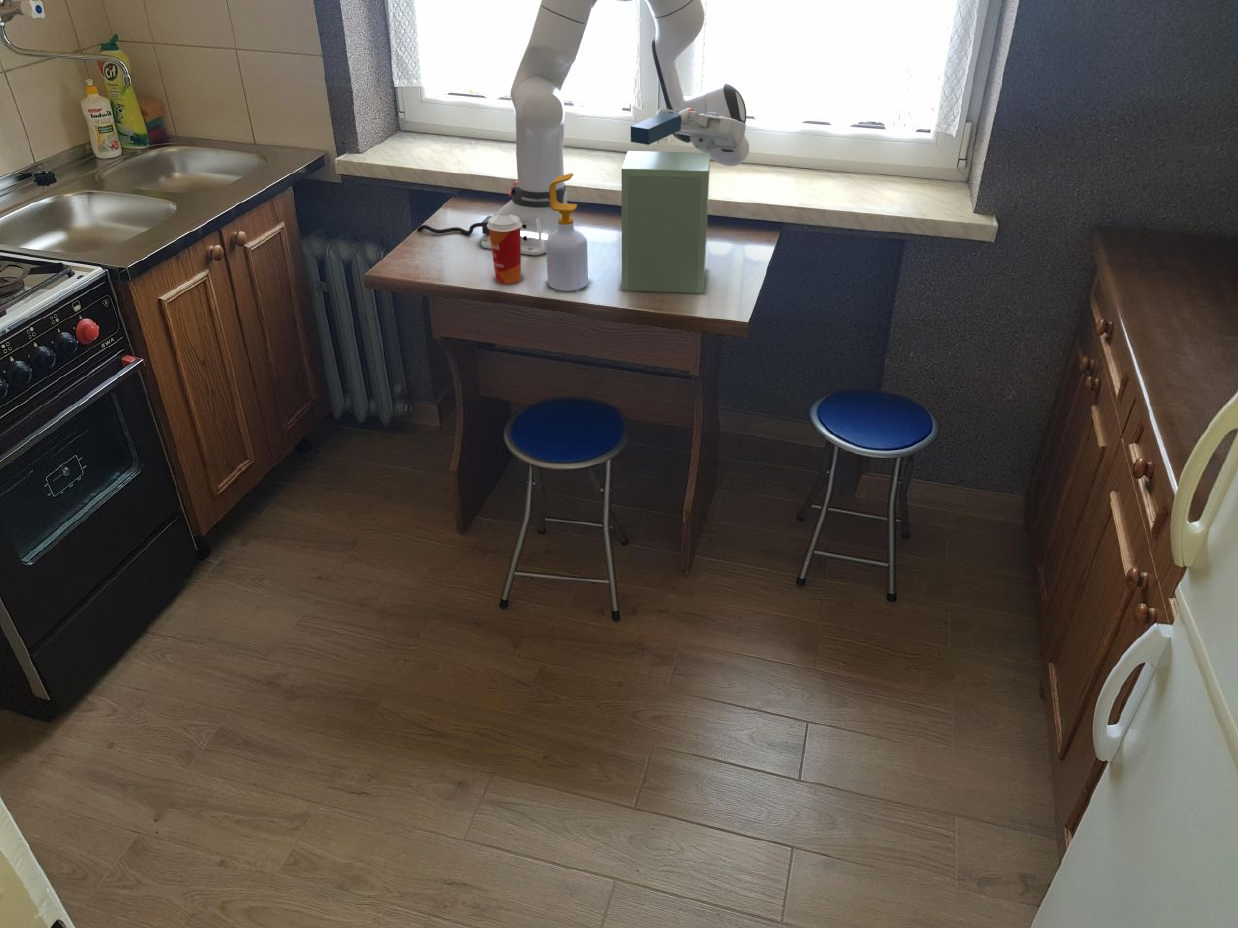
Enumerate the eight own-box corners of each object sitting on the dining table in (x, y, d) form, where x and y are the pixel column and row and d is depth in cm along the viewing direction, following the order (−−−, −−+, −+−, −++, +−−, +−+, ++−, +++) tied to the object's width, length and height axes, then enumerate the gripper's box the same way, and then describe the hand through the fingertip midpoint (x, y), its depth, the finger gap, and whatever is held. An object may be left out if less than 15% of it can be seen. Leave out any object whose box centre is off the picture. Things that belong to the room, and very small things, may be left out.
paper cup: (492, 273, 221) (486, 214, 213) (525, 272, 221) (521, 213, 213) (491, 286, 214) (485, 226, 206) (525, 285, 215) (521, 225, 207)
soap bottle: (583, 293, 211) (579, 182, 197) (543, 290, 213) (537, 180, 199) (592, 277, 218) (589, 170, 205) (553, 274, 220) (548, 167, 206)
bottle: (681, 119, 213) (681, 104, 211) (698, 122, 211) (698, 107, 209) (630, 142, 199) (630, 126, 197) (648, 145, 197) (648, 129, 195)
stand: (627, 267, 223) (627, 150, 208) (704, 270, 221) (710, 153, 206) (621, 290, 212) (621, 168, 197) (702, 293, 211) (708, 171, 196)
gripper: (675, 113, 225) (647, 94, 213) (752, 125, 216) (728, 105, 204) (667, 140, 226) (640, 122, 214) (744, 153, 216) (720, 135, 204)
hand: (683, 114), depth 209 cm, fingers closed on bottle, 2 cm apart
